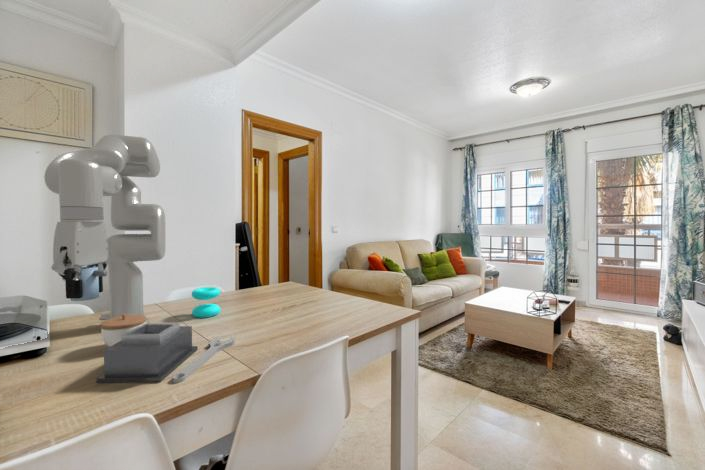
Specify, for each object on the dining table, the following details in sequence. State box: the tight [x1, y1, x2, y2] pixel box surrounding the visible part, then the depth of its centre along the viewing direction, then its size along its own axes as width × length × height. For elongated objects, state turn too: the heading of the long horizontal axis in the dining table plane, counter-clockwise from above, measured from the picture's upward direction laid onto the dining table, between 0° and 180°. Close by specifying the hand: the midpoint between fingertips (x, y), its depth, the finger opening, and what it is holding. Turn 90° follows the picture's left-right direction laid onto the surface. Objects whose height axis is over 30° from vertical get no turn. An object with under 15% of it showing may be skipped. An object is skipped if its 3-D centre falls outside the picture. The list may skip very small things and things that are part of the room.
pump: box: [70, 266, 108, 302], centre depth 72 cm, size 7×5×7 cm
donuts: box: [191, 286, 221, 319], centre depth 122 cm, size 10×10×10 cm
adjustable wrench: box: [172, 336, 236, 384], centre depth 83 cm, size 25×6×2 cm, turn 172°
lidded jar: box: [99, 314, 148, 348], centre depth 91 cm, size 11×11×9 cm
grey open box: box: [96, 322, 198, 384], centre depth 79 cm, size 14×18×9 cm
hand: (85, 294), depth 72 cm, fingers closed on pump, 5 cm apart
